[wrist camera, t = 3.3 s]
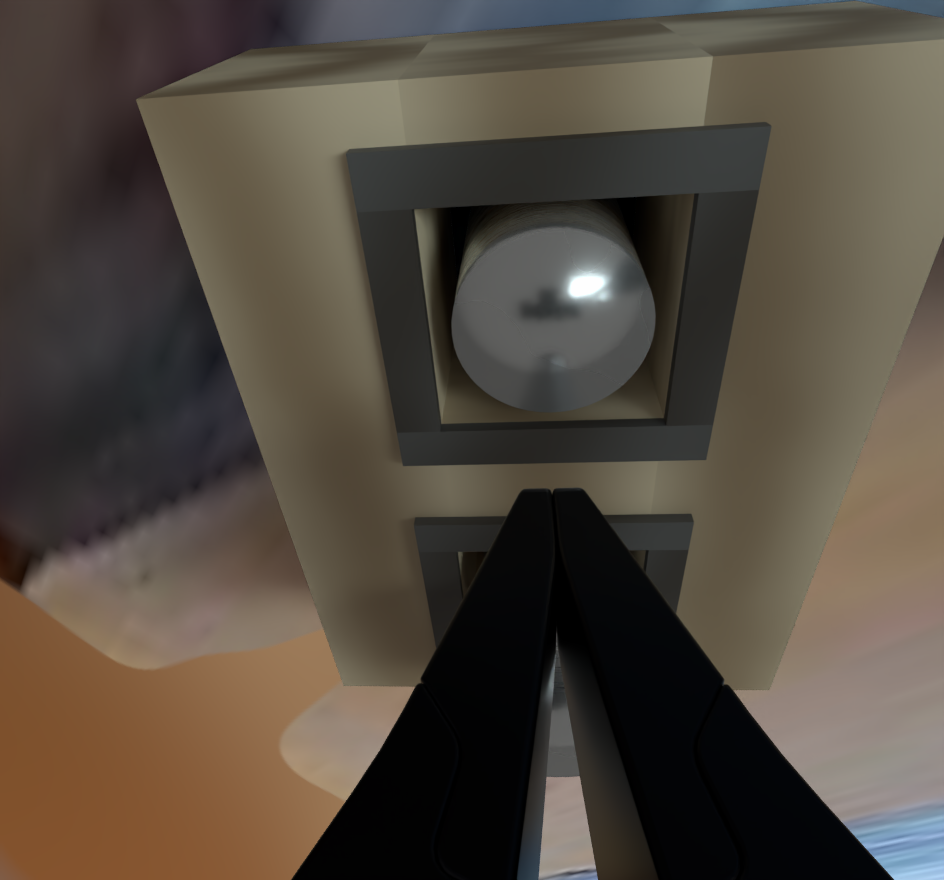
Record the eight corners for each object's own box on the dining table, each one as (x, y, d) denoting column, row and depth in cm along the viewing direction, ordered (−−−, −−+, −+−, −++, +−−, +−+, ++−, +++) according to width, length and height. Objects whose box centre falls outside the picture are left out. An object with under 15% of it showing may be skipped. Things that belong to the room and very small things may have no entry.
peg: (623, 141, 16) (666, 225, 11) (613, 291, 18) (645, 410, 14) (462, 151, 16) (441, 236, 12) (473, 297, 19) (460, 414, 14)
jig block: (856, 0, 14) (1033, 35, 9) (722, 550, 25) (772, 698, 20) (250, 49, 16) (127, 102, 11) (374, 552, 27) (341, 694, 22)
